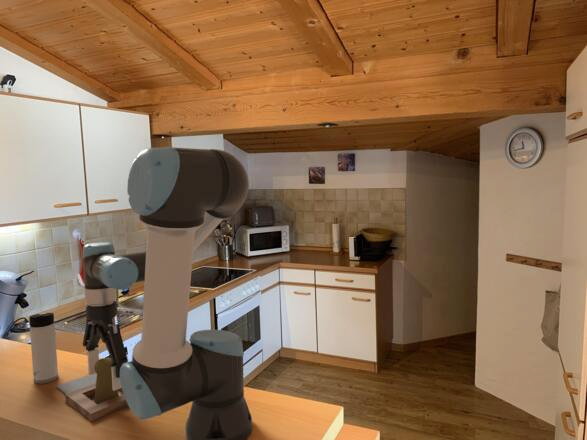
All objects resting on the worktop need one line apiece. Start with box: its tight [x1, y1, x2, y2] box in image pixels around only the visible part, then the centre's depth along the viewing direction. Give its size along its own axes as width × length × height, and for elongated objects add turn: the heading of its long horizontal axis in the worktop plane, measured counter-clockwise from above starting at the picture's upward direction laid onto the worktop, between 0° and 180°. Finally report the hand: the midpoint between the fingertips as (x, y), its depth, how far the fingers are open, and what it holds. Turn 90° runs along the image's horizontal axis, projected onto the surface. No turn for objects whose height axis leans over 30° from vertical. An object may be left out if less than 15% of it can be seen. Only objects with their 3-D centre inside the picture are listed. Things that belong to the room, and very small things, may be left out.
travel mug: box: [28, 312, 59, 385], centre depth 127 cm, size 6×7×20 cm
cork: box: [93, 357, 120, 405], centre depth 116 cm, size 6×6×11 cm
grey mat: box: [56, 373, 97, 395], centre depth 125 cm, size 9×13×1 cm
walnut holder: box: [64, 383, 129, 422], centre depth 116 cm, size 15×15×2 cm
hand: (105, 380), depth 116 cm, fingers open, 13 cm apart
